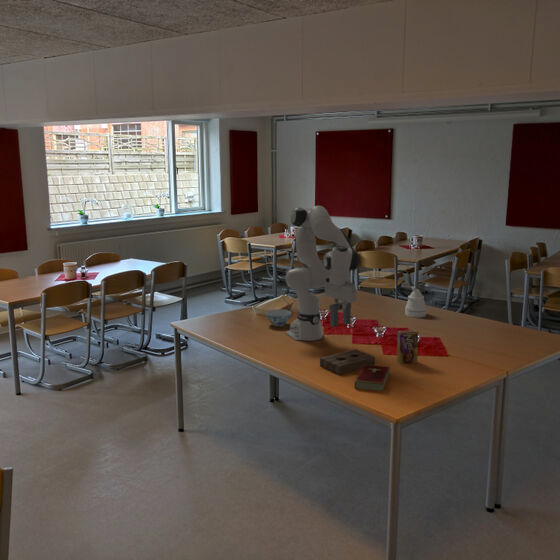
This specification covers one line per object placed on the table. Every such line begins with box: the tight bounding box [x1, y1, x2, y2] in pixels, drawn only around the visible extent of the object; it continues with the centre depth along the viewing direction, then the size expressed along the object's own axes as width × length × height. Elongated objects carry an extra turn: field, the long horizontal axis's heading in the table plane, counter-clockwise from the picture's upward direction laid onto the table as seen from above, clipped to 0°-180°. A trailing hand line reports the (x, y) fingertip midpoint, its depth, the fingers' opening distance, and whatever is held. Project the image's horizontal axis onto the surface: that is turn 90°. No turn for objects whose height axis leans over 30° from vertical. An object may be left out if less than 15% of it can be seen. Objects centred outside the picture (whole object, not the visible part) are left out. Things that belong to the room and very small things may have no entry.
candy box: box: [396, 329, 419, 365], centre depth 266 cm, size 9×4×15 cm, turn 96°
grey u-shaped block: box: [329, 302, 352, 328], centre depth 273 cm, size 3×11×10 cm, turn 123°
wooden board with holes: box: [319, 348, 376, 375], centre depth 264 cm, size 14×22×4 cm, turn 123°
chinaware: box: [265, 309, 292, 327], centre depth 334 cm, size 15×15×8 cm
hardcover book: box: [354, 364, 391, 392], centre depth 244 cm, size 12×21×4 cm, turn 161°
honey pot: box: [404, 286, 427, 318], centre depth 352 cm, size 13×13×18 cm
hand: (340, 308), depth 272 cm, fingers closed on grey u-shaped block, 3 cm apart
